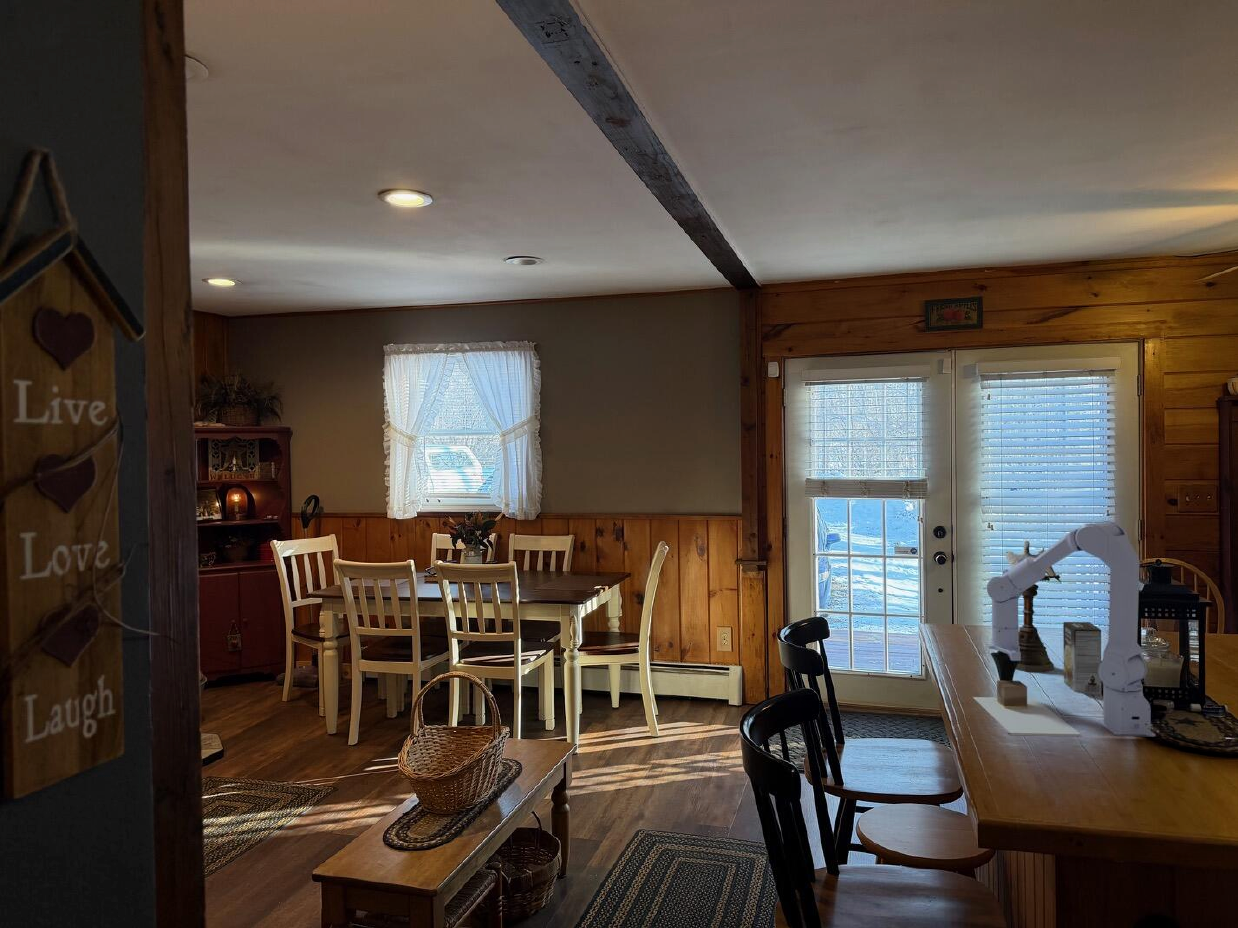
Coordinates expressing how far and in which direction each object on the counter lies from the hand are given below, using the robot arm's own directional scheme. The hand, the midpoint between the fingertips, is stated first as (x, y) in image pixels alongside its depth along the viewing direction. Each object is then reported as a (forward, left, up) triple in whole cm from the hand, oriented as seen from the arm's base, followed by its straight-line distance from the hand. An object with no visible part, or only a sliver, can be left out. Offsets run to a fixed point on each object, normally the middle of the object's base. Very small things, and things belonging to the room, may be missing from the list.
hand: (1006, 683), depth 201 cm
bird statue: (+32, -18, -5) cm, 37 cm away
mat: (-11, 0, -4) cm, 12 cm away
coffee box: (+12, -22, -5) cm, 25 cm away
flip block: (-4, 0, -4) cm, 6 cm away
